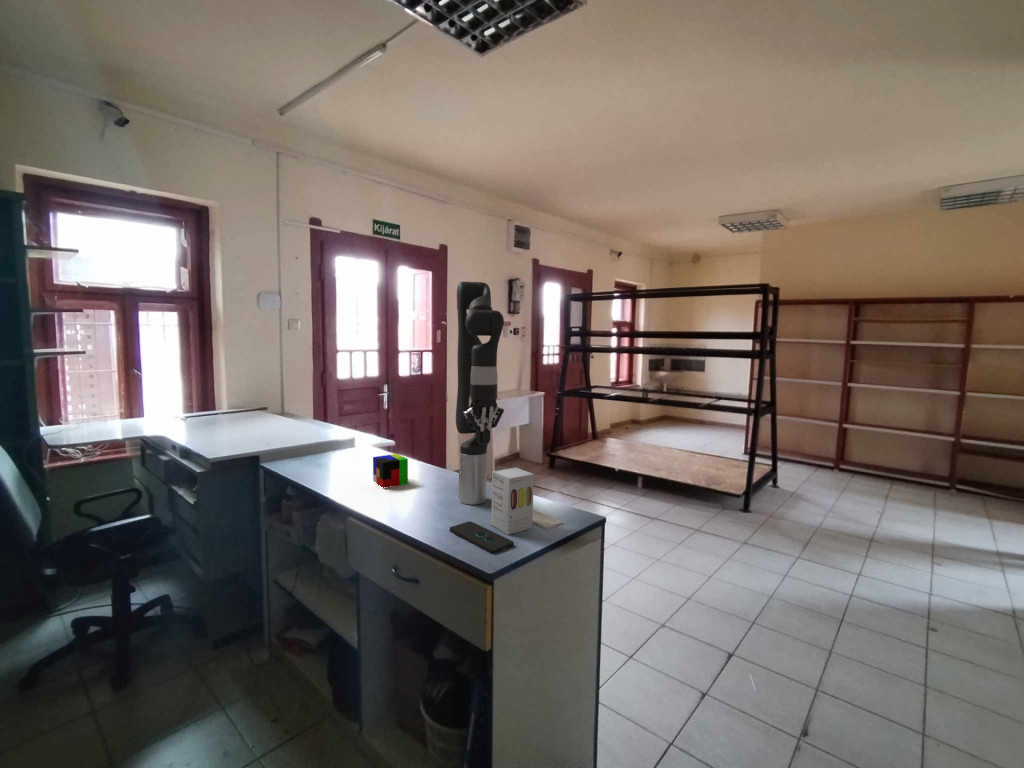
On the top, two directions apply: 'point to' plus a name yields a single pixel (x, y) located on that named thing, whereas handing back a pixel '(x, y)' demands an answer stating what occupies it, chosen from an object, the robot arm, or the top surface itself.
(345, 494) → the top surface
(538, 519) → the plain beige rectangular board
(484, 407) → the robot arm
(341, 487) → the top surface
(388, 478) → the puzzle toy
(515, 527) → the supplement box
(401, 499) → the top surface
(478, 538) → the smart home device
